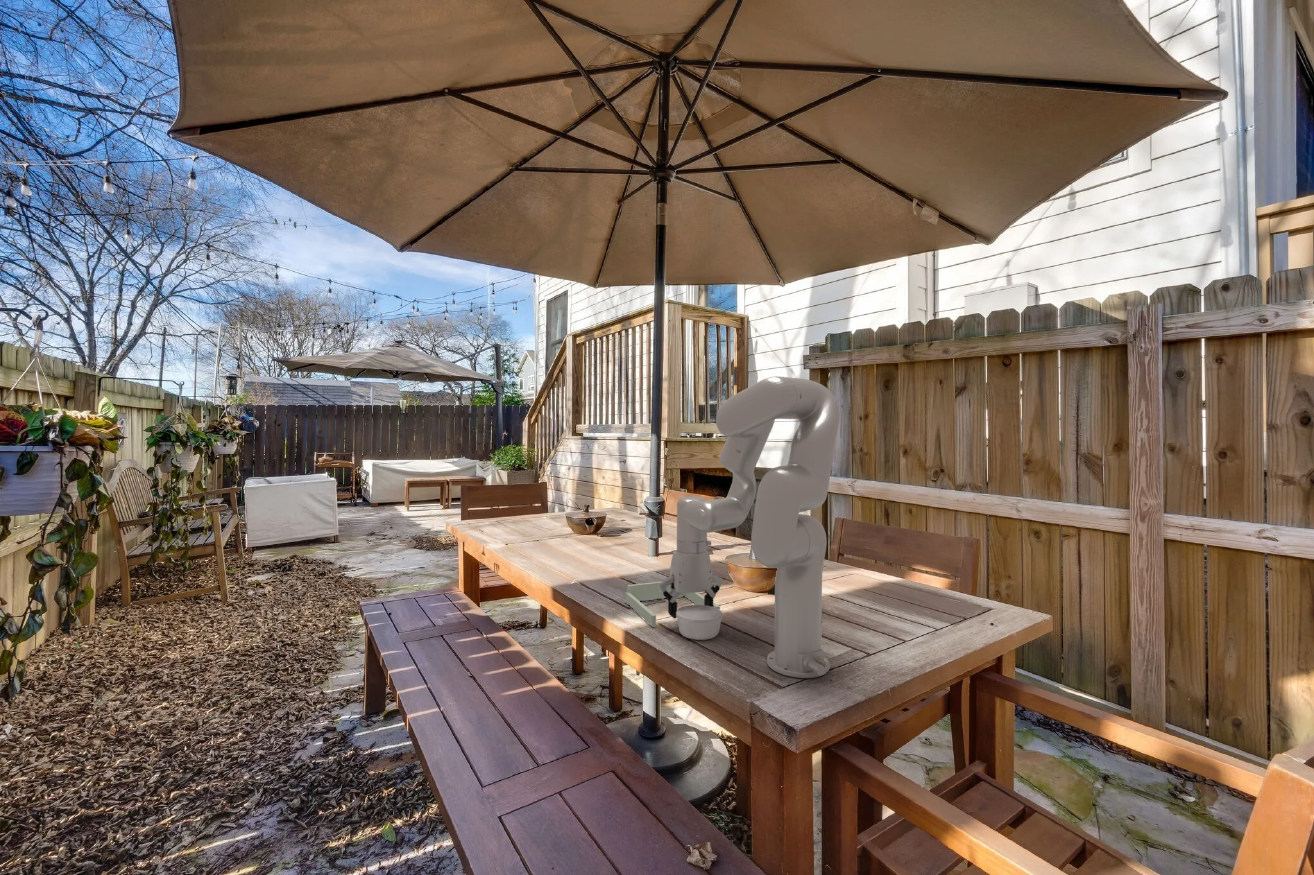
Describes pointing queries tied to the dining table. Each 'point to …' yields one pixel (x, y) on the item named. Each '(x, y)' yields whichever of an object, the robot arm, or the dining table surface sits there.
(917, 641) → the dining table surface
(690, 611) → the ramekin
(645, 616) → the green three-sided fence
